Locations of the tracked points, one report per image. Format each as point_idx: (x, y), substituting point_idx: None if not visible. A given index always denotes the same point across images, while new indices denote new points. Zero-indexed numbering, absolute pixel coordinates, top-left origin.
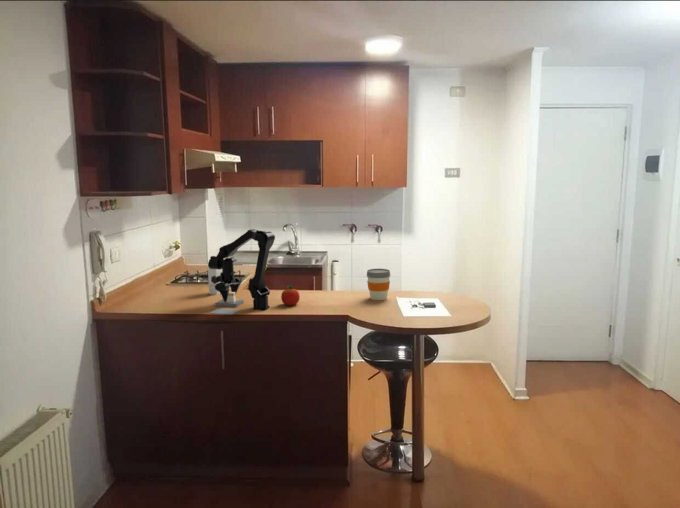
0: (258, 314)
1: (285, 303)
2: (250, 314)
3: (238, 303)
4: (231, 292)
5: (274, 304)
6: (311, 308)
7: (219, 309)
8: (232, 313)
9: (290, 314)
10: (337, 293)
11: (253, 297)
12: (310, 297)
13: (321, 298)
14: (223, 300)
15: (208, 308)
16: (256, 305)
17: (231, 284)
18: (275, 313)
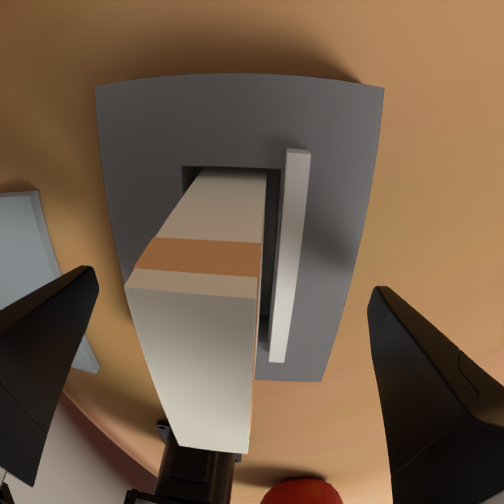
0: (104, 430)
1: (270, 490)
2: (83, 409)
3: None
4: (201, 428)
5: (305, 459)
6: (254, 501)
7: (17, 230)
8: None
9: None
10: None
11: (132, 493)
12: None
13: (387, 492)
14: (189, 189)
15: (44, 52)
16: (164, 451)
17: (484, 496)
18: (152, 463)
